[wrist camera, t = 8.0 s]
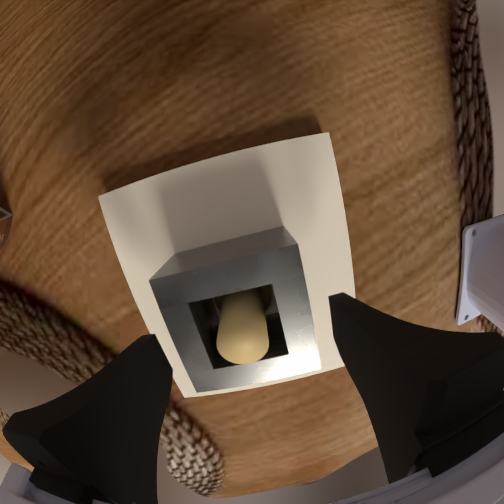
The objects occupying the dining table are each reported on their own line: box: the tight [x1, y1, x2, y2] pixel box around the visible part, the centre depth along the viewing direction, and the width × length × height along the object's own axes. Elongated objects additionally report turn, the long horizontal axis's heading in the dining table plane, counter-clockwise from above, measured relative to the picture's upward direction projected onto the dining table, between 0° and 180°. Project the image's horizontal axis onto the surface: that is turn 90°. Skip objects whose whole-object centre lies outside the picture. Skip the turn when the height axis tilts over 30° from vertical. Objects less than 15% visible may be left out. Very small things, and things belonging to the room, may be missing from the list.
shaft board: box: [98, 132, 355, 398], centre depth 13 cm, size 12×14×6 cm
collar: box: [149, 226, 321, 393], centre depth 12 cm, size 6×6×4 cm
